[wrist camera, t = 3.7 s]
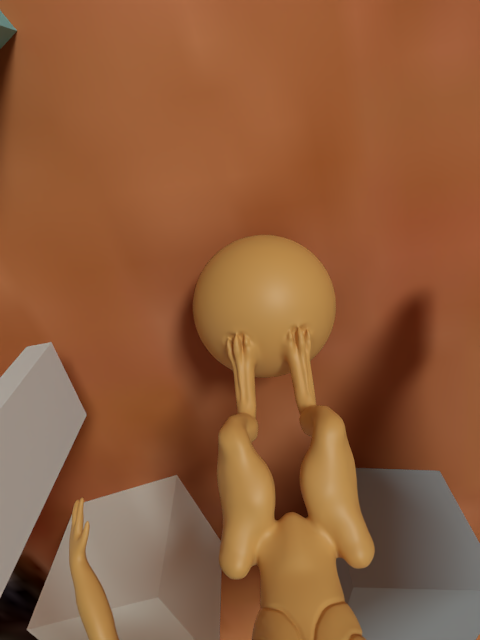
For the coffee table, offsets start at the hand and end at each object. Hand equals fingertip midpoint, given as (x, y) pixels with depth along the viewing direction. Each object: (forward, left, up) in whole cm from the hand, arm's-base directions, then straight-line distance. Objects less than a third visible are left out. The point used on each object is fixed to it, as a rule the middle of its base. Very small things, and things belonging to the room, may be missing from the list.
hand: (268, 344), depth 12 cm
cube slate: (+3, -11, -2) cm, 12 cm away
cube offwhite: (-7, -10, -2) cm, 12 cm away
